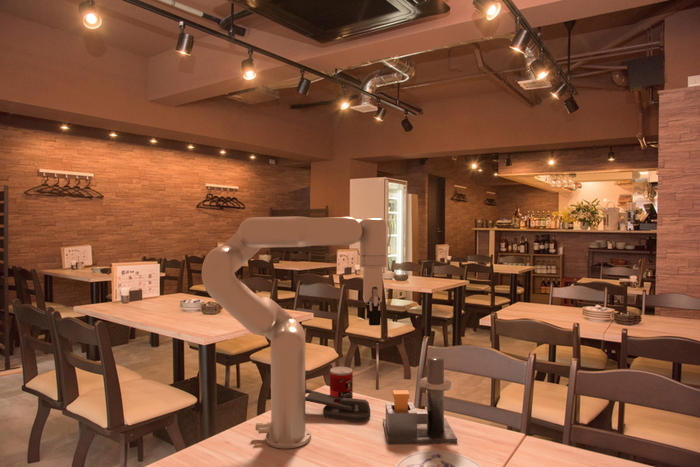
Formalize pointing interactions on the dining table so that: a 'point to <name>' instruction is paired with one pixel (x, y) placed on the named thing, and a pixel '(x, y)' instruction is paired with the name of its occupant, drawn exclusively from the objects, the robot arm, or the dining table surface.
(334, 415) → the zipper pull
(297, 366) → the robot arm
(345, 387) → the canned food
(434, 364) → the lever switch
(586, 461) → the dining table surface
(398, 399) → the orange tapered block
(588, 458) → the dining table surface
